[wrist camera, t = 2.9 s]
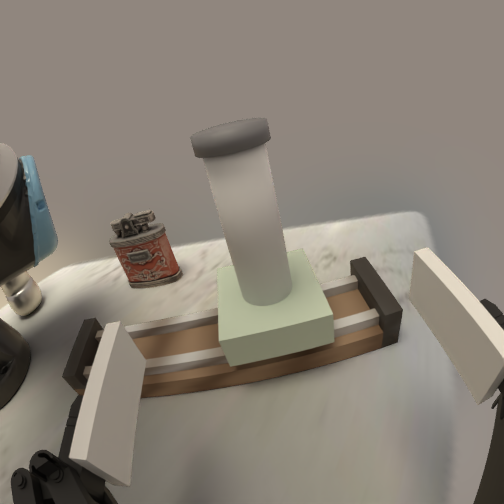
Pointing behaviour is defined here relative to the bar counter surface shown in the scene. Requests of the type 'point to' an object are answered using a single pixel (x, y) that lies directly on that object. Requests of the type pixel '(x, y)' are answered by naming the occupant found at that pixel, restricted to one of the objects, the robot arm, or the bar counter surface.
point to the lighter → (144, 251)
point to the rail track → (222, 375)
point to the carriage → (258, 253)
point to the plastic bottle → (22, 294)
